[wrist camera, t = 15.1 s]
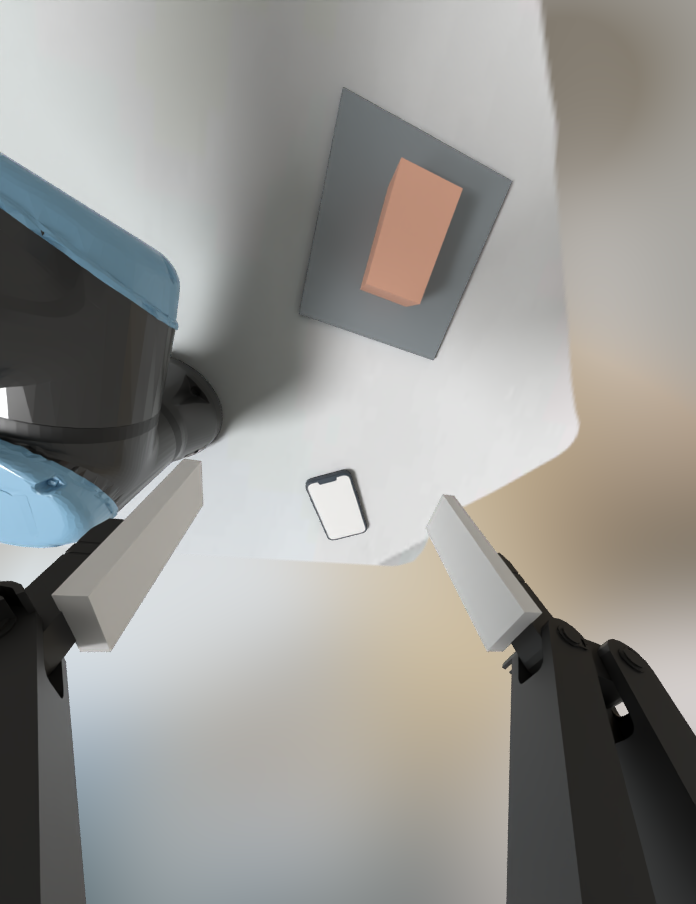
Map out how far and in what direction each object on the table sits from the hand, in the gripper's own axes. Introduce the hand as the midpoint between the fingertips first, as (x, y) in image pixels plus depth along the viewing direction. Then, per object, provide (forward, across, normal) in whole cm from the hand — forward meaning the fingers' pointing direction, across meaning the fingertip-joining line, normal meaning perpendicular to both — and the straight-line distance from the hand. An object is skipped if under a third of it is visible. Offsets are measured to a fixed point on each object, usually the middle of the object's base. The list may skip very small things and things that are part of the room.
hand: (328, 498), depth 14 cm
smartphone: (+28, +7, -23) cm, 37 cm away
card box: (+26, +6, +18) cm, 32 cm away
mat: (+27, +6, +18) cm, 33 cm away
